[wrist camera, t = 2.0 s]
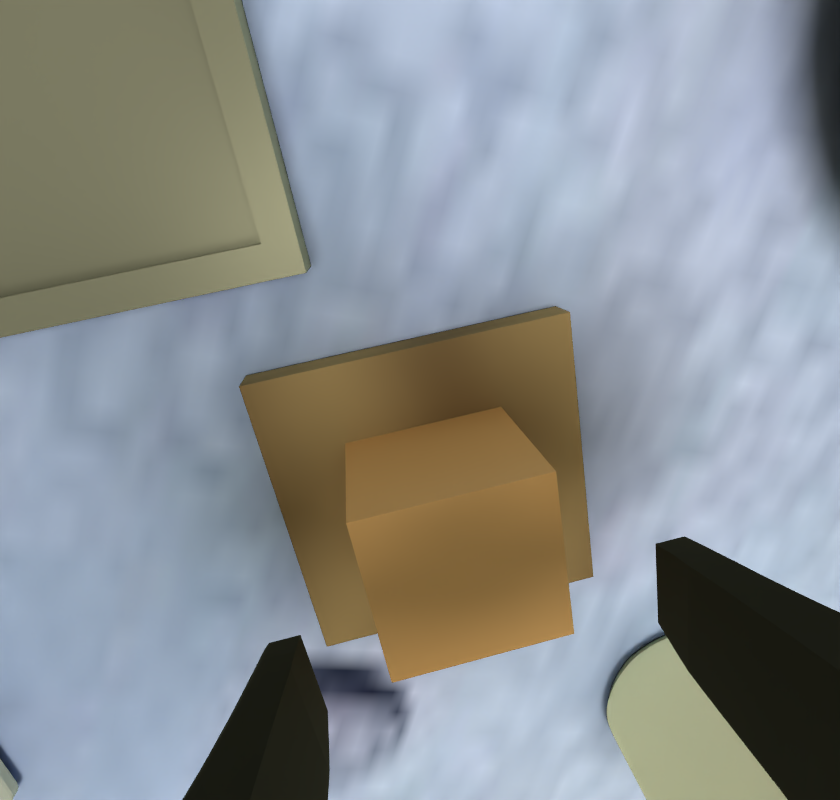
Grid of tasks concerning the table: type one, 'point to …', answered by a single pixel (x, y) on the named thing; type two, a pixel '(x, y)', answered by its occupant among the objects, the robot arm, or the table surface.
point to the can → (679, 734)
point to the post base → (402, 409)
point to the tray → (134, 159)
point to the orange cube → (457, 541)
